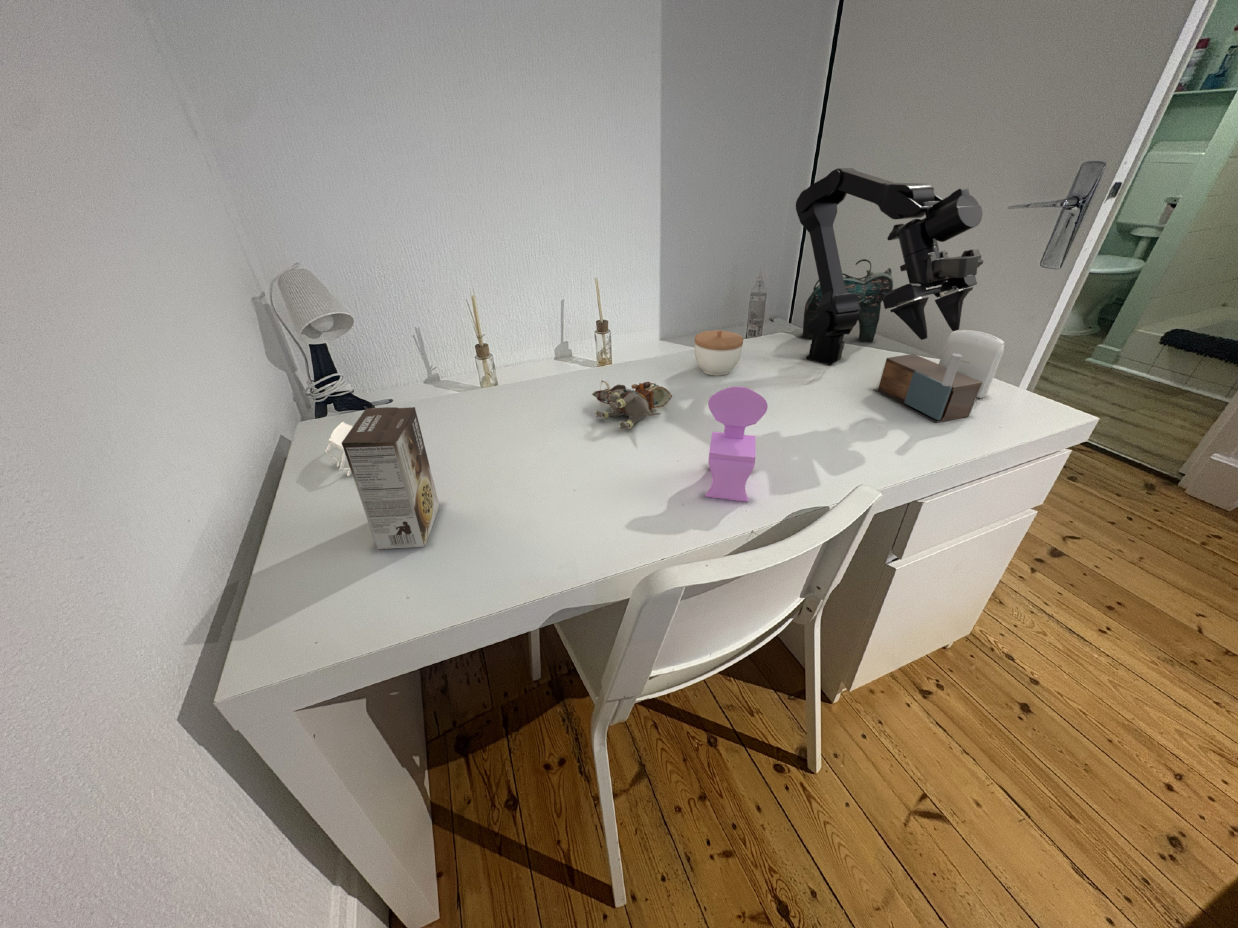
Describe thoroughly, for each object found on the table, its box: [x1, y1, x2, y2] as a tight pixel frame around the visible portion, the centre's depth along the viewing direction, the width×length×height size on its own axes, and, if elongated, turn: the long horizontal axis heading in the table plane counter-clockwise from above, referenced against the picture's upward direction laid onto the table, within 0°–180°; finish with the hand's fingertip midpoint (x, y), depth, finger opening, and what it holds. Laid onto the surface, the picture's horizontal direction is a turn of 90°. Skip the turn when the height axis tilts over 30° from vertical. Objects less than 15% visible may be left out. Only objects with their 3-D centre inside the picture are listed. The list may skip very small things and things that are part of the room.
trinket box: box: [693, 329, 744, 377], centre depth 115 cm, size 11×11×9 cm
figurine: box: [591, 380, 673, 430], centre depth 99 cm, size 20×6×17 cm
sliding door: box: [904, 354, 962, 420], centre depth 95 cm, size 8×2×12 cm, turn 19°
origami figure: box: [324, 421, 354, 477], centre depth 85 cm, size 12×8×5 cm
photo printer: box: [938, 329, 1006, 399], centre depth 104 cm, size 10×4×12 cm, turn 39°
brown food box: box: [341, 406, 440, 550], centre depth 66 cm, size 9×6×16 cm
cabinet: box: [872, 353, 982, 424], centre depth 101 cm, size 16×8×7 cm, turn 19°
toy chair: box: [704, 385, 769, 502], centre depth 74 cm, size 8×9×15 cm
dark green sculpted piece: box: [802, 258, 894, 343], centre depth 131 cm, size 20×6×20 cm, turn 77°
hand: (940, 334), depth 96 cm, fingers open, 9 cm apart
